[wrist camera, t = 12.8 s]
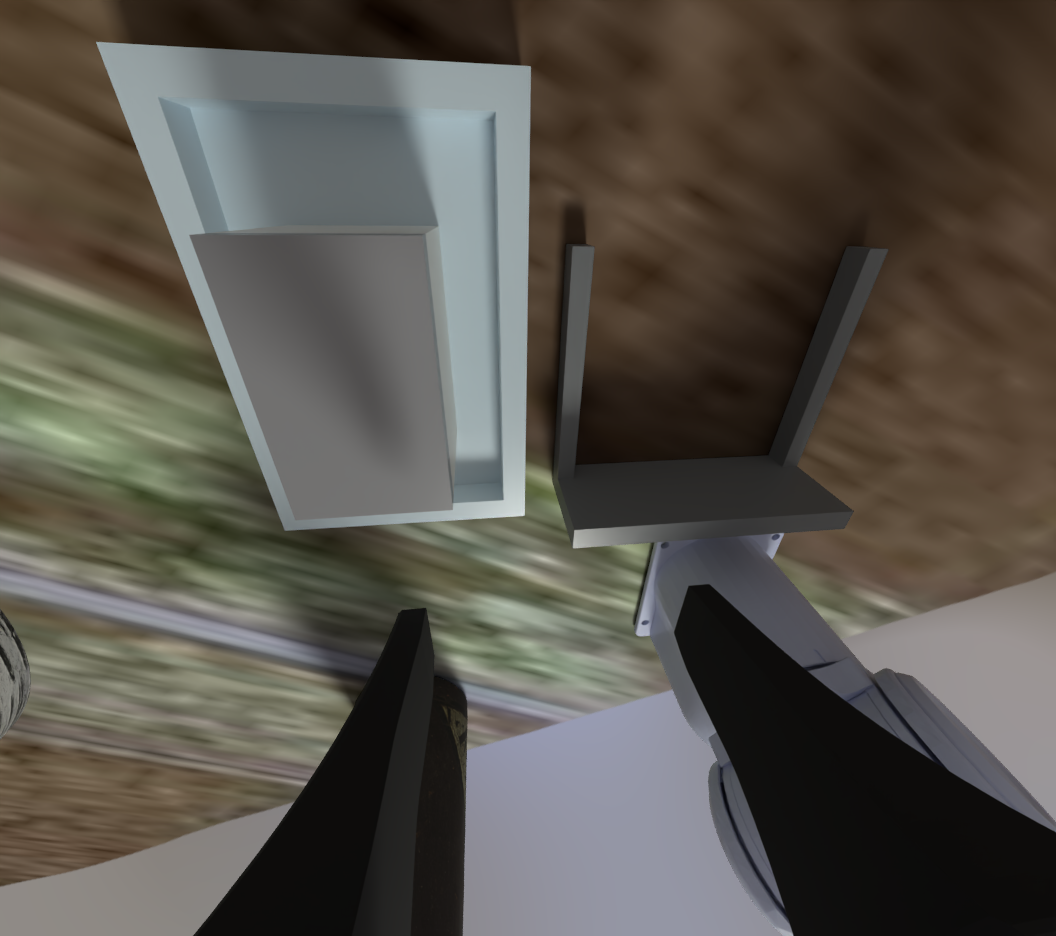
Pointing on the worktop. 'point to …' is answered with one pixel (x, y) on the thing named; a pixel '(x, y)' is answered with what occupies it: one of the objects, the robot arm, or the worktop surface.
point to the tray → (358, 208)
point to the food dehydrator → (12, 676)
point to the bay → (711, 483)
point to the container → (441, 818)
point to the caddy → (343, 360)
